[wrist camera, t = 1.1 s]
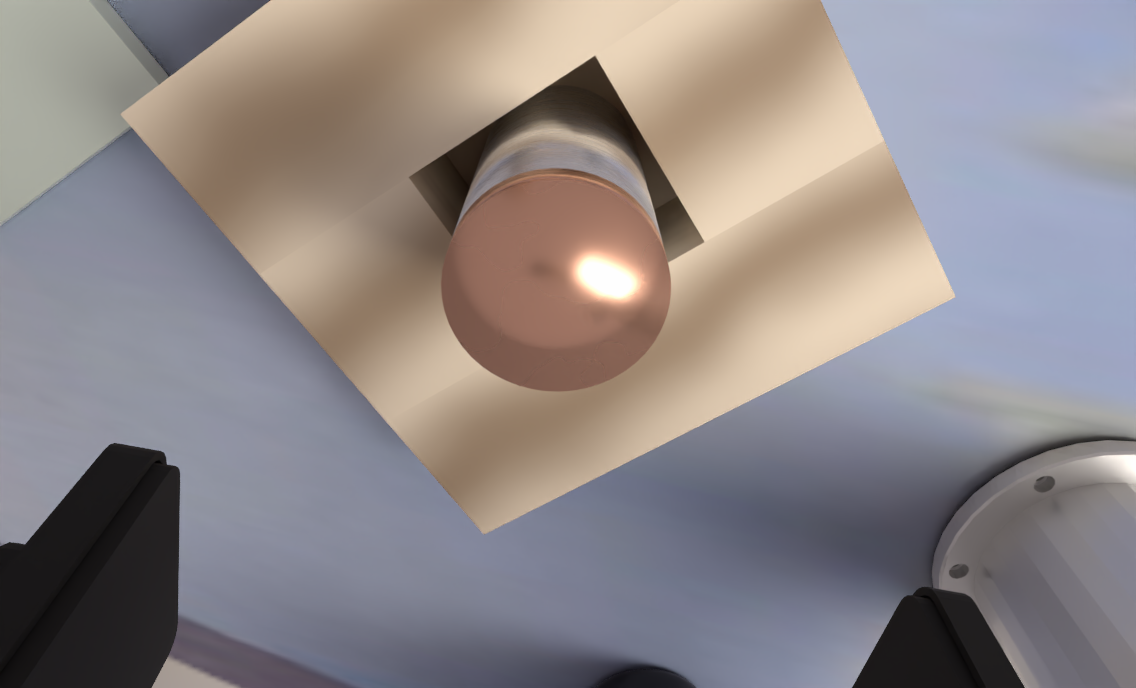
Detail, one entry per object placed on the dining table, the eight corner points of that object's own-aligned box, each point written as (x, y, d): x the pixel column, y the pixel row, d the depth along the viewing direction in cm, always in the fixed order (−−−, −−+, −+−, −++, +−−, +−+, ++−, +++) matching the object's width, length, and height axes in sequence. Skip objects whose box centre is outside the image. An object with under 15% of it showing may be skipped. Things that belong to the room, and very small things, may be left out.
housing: (891, 230, 32) (955, 296, 26) (496, 441, 36) (484, 534, 31) (656, -263, 25) (679, -309, 19) (202, 75, 29) (120, 113, 24)
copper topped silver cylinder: (665, 187, 30) (711, 325, 20) (538, 262, 31) (523, 425, 21) (586, 53, 28) (594, 133, 18) (453, 139, 29) (394, 258, 19)
